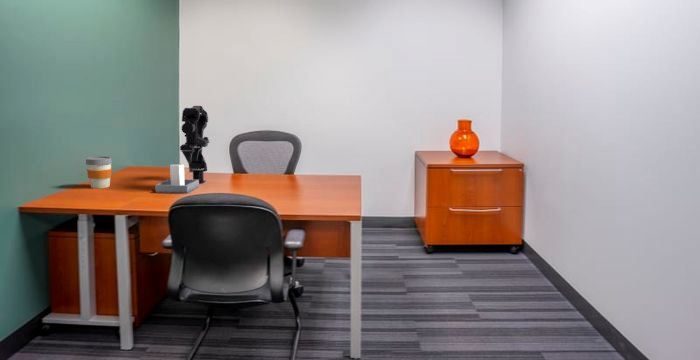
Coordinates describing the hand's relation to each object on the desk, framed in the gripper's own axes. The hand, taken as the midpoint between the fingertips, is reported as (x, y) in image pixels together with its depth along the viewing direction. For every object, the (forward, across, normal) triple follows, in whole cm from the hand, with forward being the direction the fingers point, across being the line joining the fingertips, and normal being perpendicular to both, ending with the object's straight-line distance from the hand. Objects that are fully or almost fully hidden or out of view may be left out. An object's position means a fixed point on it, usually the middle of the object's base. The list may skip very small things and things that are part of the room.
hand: (192, 162), depth 317 cm
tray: (+13, -9, +5) cm, 17 cm away
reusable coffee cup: (+13, -5, +48) cm, 50 cm away
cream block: (+12, -9, +5) cm, 16 cm away
